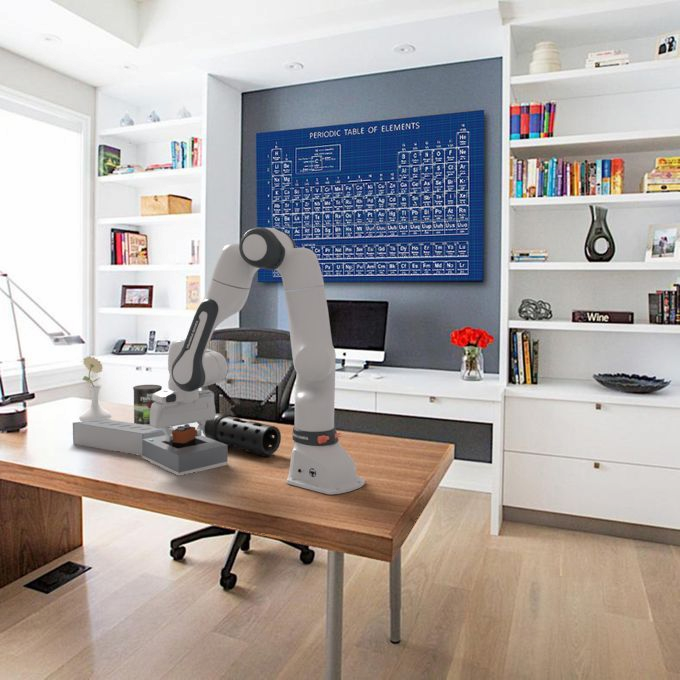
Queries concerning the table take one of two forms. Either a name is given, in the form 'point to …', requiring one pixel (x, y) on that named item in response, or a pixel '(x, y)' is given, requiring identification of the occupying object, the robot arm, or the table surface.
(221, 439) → the muzzle brake
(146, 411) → the coffee can
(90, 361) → the flower in vase
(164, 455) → the dock
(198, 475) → the table surface
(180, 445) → the battery
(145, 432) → the white slatted block
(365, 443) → the table surface
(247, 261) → the robot arm
